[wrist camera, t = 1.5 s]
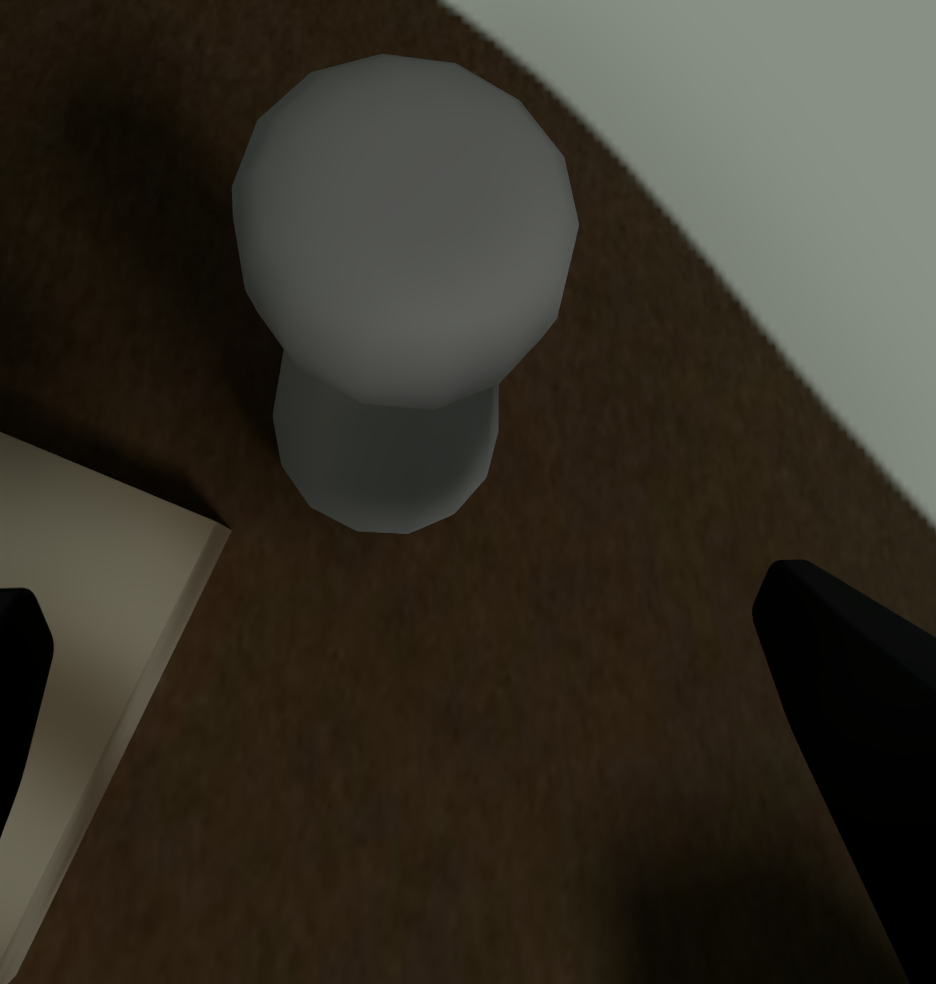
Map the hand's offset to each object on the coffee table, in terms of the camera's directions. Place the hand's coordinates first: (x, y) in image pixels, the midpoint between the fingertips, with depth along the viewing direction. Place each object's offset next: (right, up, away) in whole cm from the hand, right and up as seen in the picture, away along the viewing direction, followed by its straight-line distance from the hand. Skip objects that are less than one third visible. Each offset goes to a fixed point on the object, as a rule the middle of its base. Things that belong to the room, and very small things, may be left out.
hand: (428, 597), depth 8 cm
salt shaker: (-2, +3, +12) cm, 12 cm away
